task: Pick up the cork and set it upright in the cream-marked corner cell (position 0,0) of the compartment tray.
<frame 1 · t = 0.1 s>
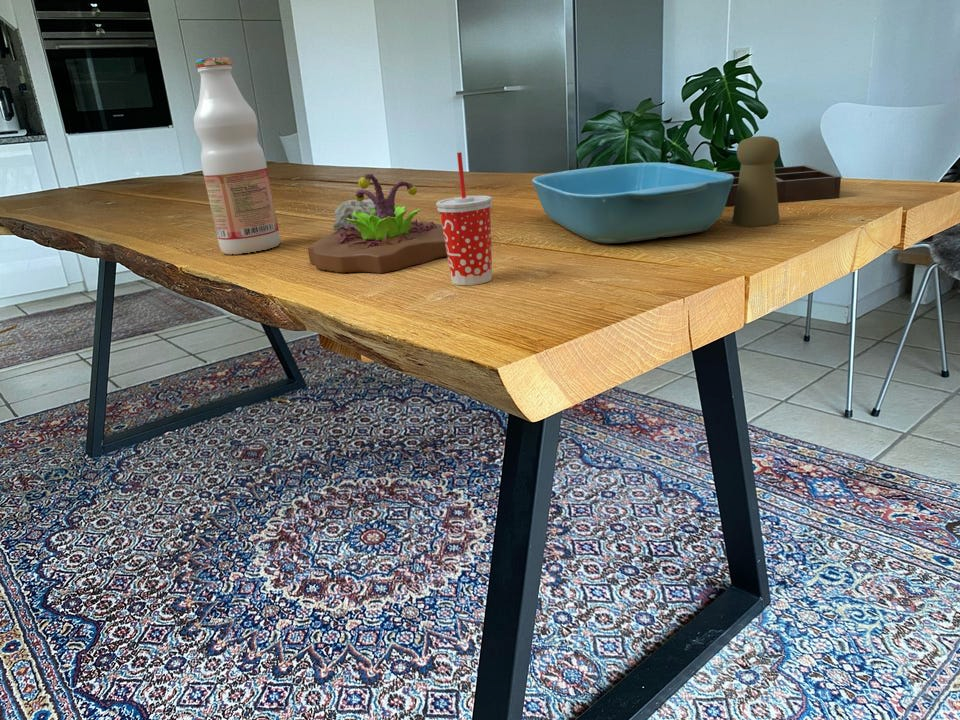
plant: (386, 257, 101), on the table
fruit juice: (251, 250, 117), on the table
casserole dish: (624, 226, 106), on the table
beverage cup: (472, 281, 83), on the table
cork: (755, 223, 99), on the table
compartment tray: (767, 194, 118), on the table
decorative stone: (362, 229, 126), on the table
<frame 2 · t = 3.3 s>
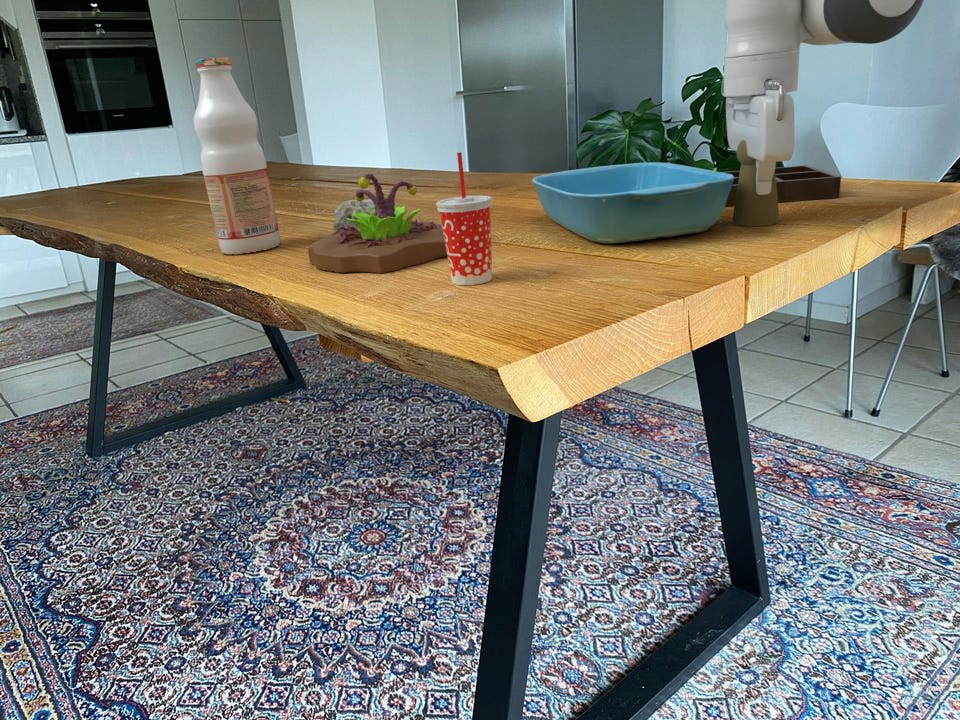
hand: (756, 190, 98), 4 cm above the table, tool pointing down, fingers closed on cork, 4 cm apart
cork: (755, 223, 99), on the table, touching gripper
everything else where it was.
when the fingers open (5 cm above the table, at t = 9.8 s): cork stays where it is, resting on compartment tray.
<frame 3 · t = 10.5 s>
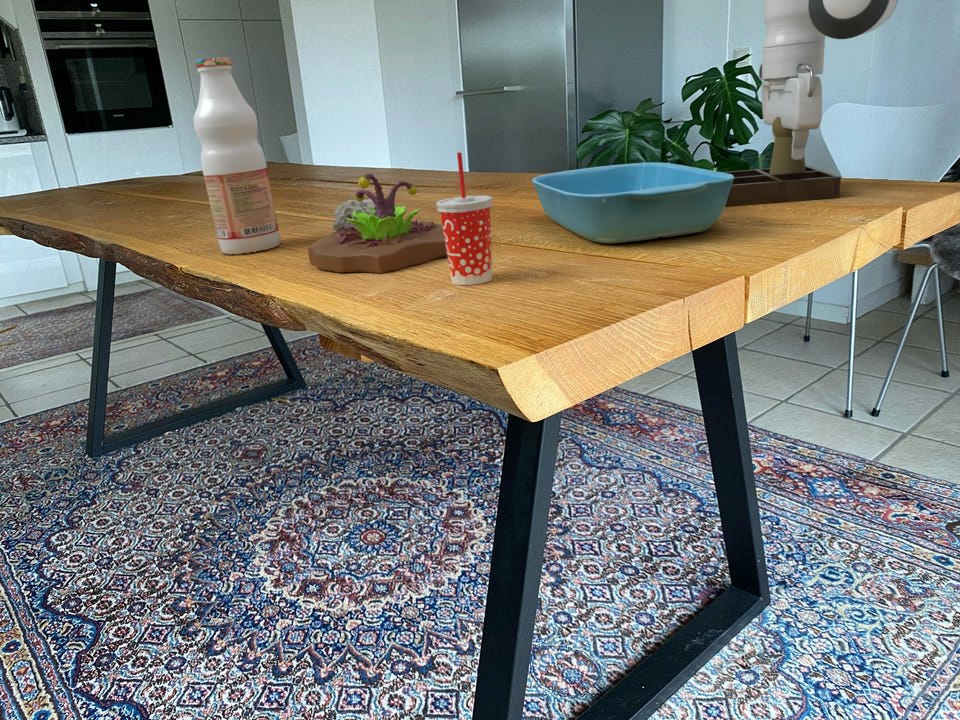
hand: (788, 156, 120), 5 cm above the table, tool pointing down, fingers open, 8 cm apart
cork: (786, 185, 121), point 1 cm above the table, touching compartment tray
everything else where it was.
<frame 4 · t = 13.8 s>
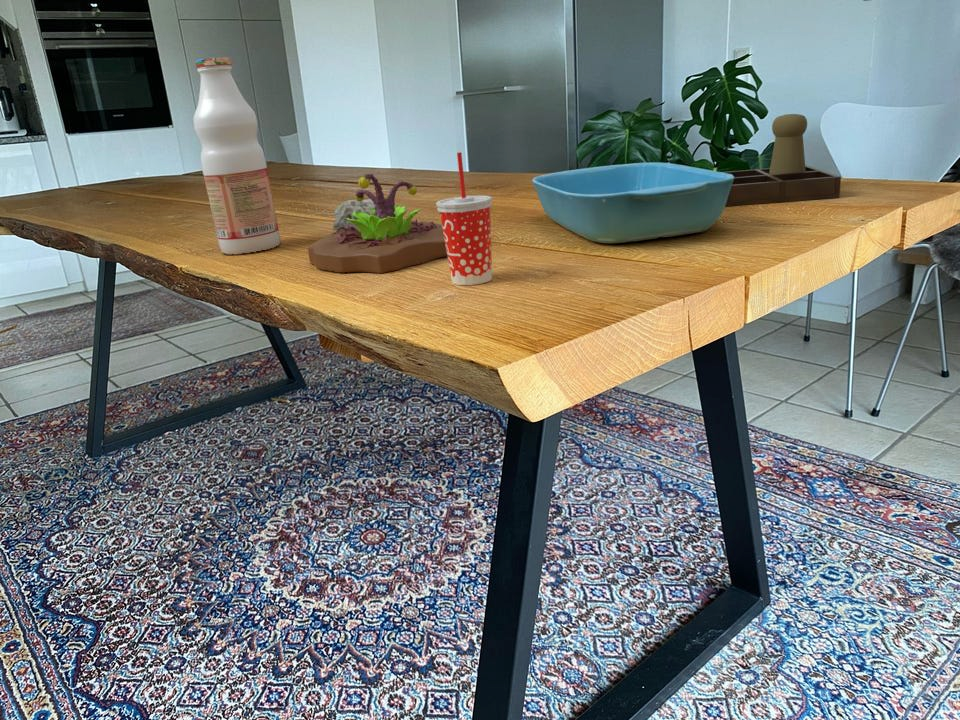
nothing on the table moved.
at the end: cork 0.1 cm from the target spot in the compartment tray, point 0.6 cm above the compartment tray's base; cork tilted 0°; the gripper is holding nothing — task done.
